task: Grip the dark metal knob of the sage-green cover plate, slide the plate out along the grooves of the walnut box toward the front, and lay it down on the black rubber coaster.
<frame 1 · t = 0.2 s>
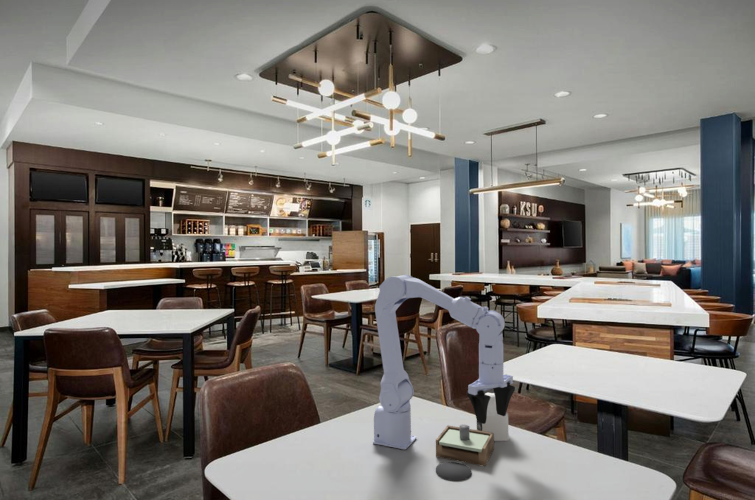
hand: (491, 418, 106), 10 cm above the table, tool pointing down, fingers open, 7 cm apart
cover plate: (464, 441, 110), point 3 cm above the table, touching walnut box
medicine bottle: (492, 436, 120), on the table
walnut box: (465, 452, 110), on the table
rubber coaster: (453, 471, 101), on the table
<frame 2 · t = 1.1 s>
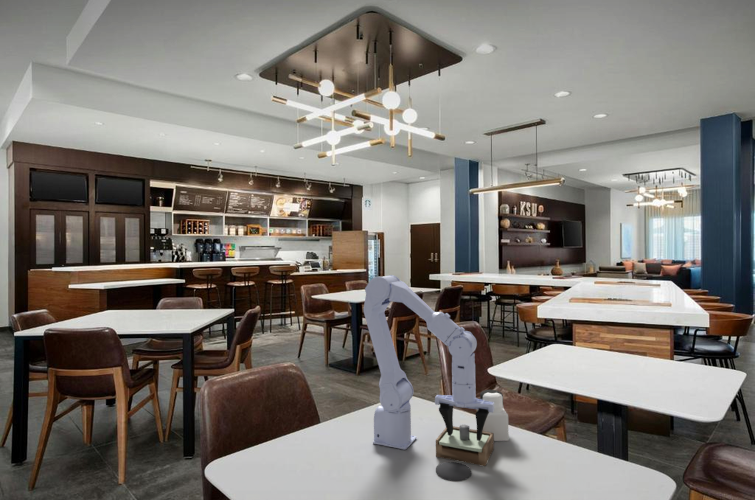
hand: (464, 436, 110), 4 cm above the table, tool pointing down, fingers open, 7 cm apart
nothing on the table moved.
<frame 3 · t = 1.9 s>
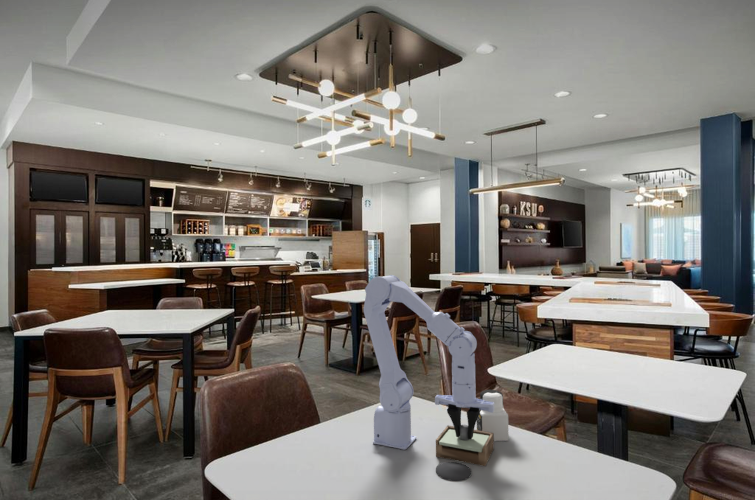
hand: (464, 436, 110), 4 cm above the table, tool pointing down, fingers closed on cover plate, 2 cm apart
cover plate: (464, 441, 110), point 3 cm above the table, touching gripper, walnut box
everything else where it was.
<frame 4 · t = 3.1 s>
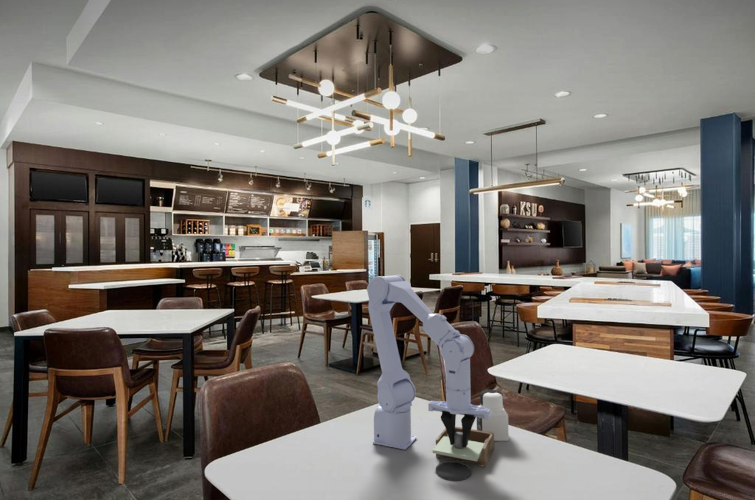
hand: (459, 444, 105), 4 cm above the table, tool pointing down, fingers closed on cover plate, 2 cm apart
cover plate: (459, 449, 105), point 3 cm above the table, touching gripper
everything else where it was.
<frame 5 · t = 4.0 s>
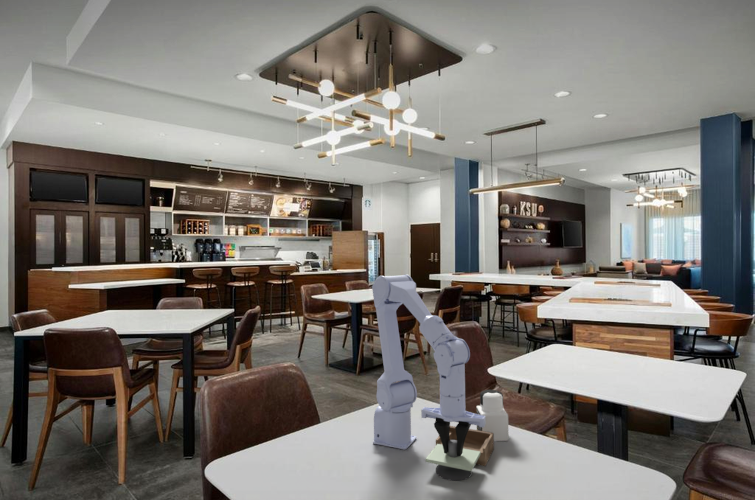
hand: (453, 453, 101), 4 cm above the table, tool pointing down, fingers closed on cover plate, 2 cm apart
cover plate: (453, 458, 101), point 3 cm above the table, touching gripper
everything else where it was.
when the fingers open (3 cm above the table, at t = 4.6 s): cover plate drops 1 cm, resting on rubber coaster.
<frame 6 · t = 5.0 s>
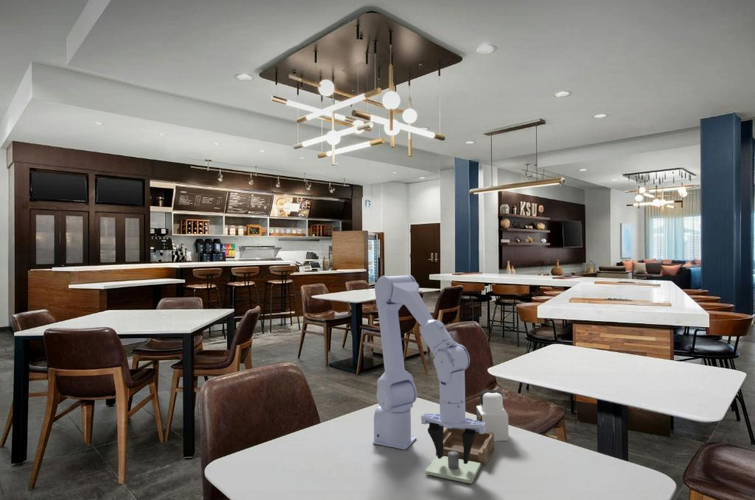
hand: (453, 459, 101), 3 cm above the table, tool pointing down, fingers open, 5 cm apart
cover plate: (453, 469, 101), resting on rubber coaster
everything else where it was.
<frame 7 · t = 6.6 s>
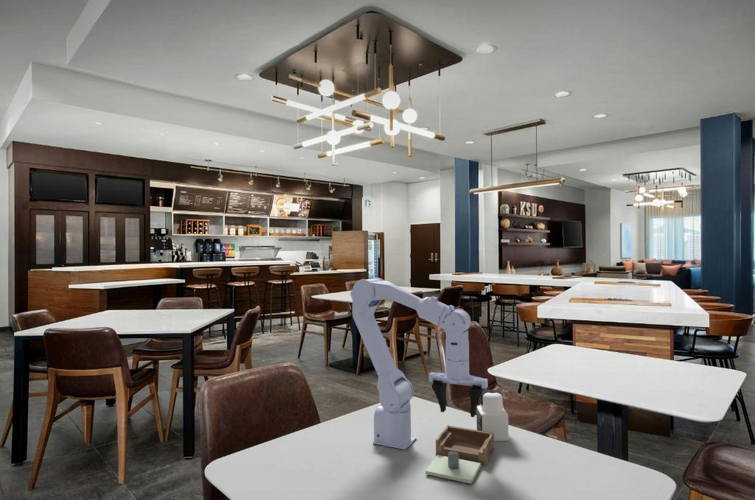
hand: (458, 413, 110), 10 cm above the table, tool pointing down, fingers open, 7 cm apart
nothing on the table moved.
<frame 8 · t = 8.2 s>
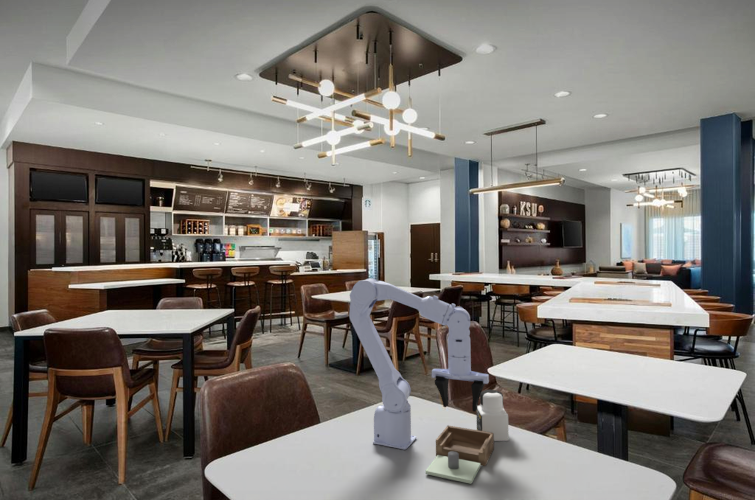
hand: (460, 408, 114), 10 cm above the table, tool pointing down, fingers open, 7 cm apart
nothing on the table moved.
at the end: cover plate inside the target area on the rubber coaster (0.0 cm from its centre), point 0.4 cm above the rubber coaster's base; cover plate tilted 0°; the gripper is holding nothing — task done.
